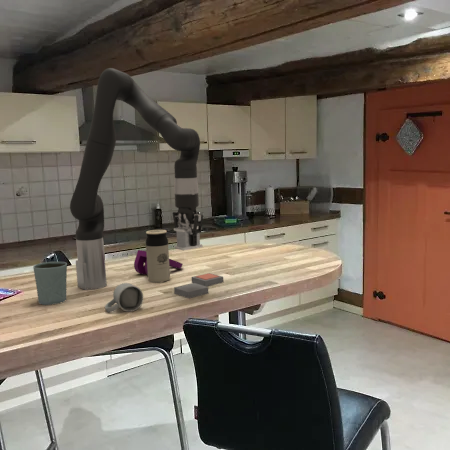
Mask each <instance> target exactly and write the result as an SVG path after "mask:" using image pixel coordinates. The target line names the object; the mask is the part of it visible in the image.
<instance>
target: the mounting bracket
mask: <svg viewBox="0 0 450 450" xmlns="http://www.w3.org/2000/svg"><path fill="white" fill-rule="evenodd" d="M183 264H184V263H182V262H179V261H176V260H174V259H171V258H169V268H175V269H177V270H178V269H179V270H181V269H182V267H183ZM133 267H134V271H135V272H136V273H137V274H140V275H147V276H148V270H147V254H146V250H140V249H138V250H137V252H136V256H135V259H134V262H133Z"/></svg>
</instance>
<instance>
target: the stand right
mask: <svg viewBox="0 0 450 450" xmlns="http://www.w3.org/2000/svg"><path fill="white" fill-rule="evenodd" d="M222 282H223V283H224V276H223V275H219V274H215V273H211V272H208V273H204V274H199V275H196V276H195V275H194V276H191V283H196V284H199V285H203V286H206V287H209V286H210V287H211V286H215V285H217V284H222Z"/></svg>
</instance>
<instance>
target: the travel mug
mask: <svg viewBox="0 0 450 450" xmlns="http://www.w3.org/2000/svg"><path fill="white" fill-rule="evenodd" d="M167 232H168V230H166V229H152V230H150V229H149V230H147V231H146V232H145V233H146V240H145V251H146V254H147V270H148V275H147V280H148V281H149V282H151V283H164V282H167V281H169V280H170V279H171V270H170V268H171V267H170V266H169V259H170V254H169V239H168V237H167Z"/></svg>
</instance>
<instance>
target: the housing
mask: <svg viewBox="0 0 450 450" xmlns="http://www.w3.org/2000/svg"><path fill="white" fill-rule="evenodd" d="M197 229H198V226H197ZM192 230H193V227H192ZM174 231H175V232H176V245H174V249H176V250H179V251H188V250H193V249H200V248H203V244H201V238H200V236H201V235H200V233H198V234H197V245H196V246H190V232H189V229H188V228H187V227H184V226H183V227H178V228H175V227H174V228H173V232H174Z"/></svg>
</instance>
